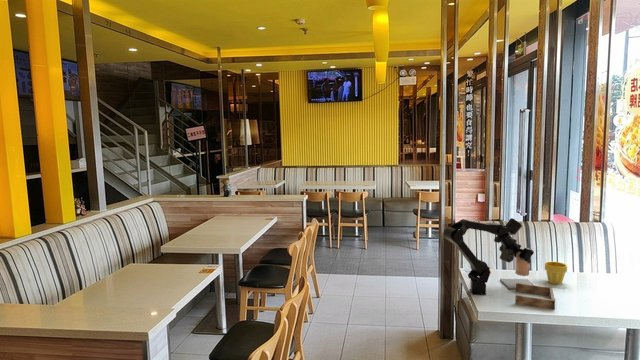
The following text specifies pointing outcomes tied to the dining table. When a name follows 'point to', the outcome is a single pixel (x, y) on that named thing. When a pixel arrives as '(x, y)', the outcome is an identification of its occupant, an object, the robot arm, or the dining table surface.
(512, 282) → the slate mat
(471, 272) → the robot arm
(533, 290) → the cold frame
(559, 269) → the plant pot
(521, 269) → the candle
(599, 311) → the dining table surface
